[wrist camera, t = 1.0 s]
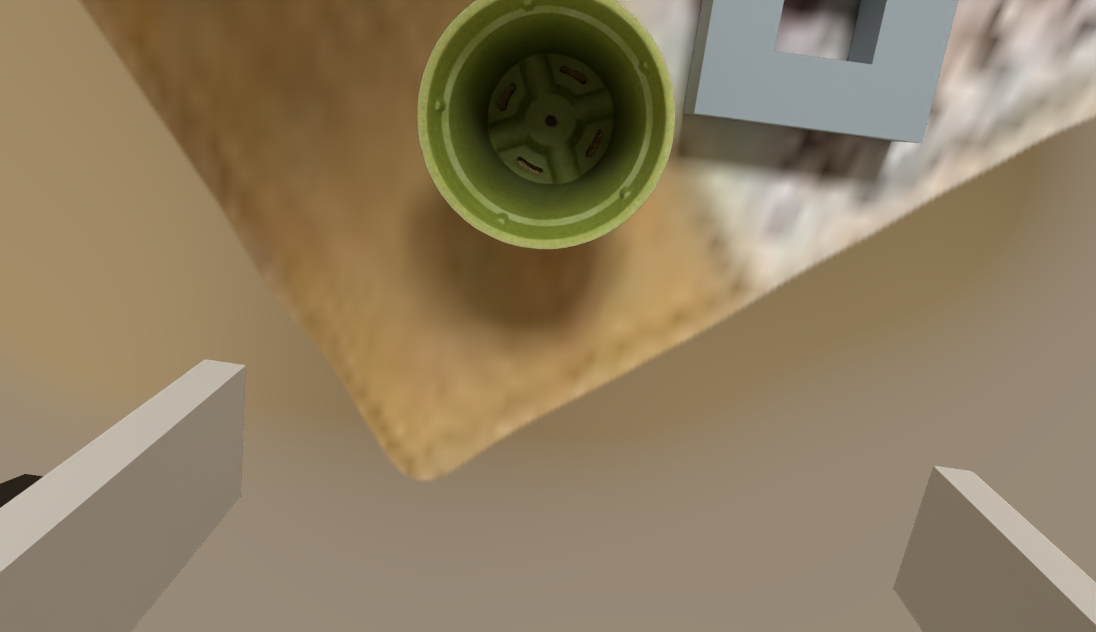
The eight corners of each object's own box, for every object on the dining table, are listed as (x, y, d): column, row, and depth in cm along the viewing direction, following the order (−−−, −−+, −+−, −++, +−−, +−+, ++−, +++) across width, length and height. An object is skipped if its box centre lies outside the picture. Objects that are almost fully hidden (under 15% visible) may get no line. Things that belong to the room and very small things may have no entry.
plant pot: (419, 168, 36) (377, 184, 27) (499, -24, 34) (479, -70, 25) (594, 250, 37) (604, 290, 28) (683, 68, 34) (722, 53, 26)
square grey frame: (722, -123, 32) (738, -147, 29) (948, -92, 33) (986, -112, 30) (683, 113, 35) (694, 112, 32) (892, 140, 35) (922, 143, 32)
